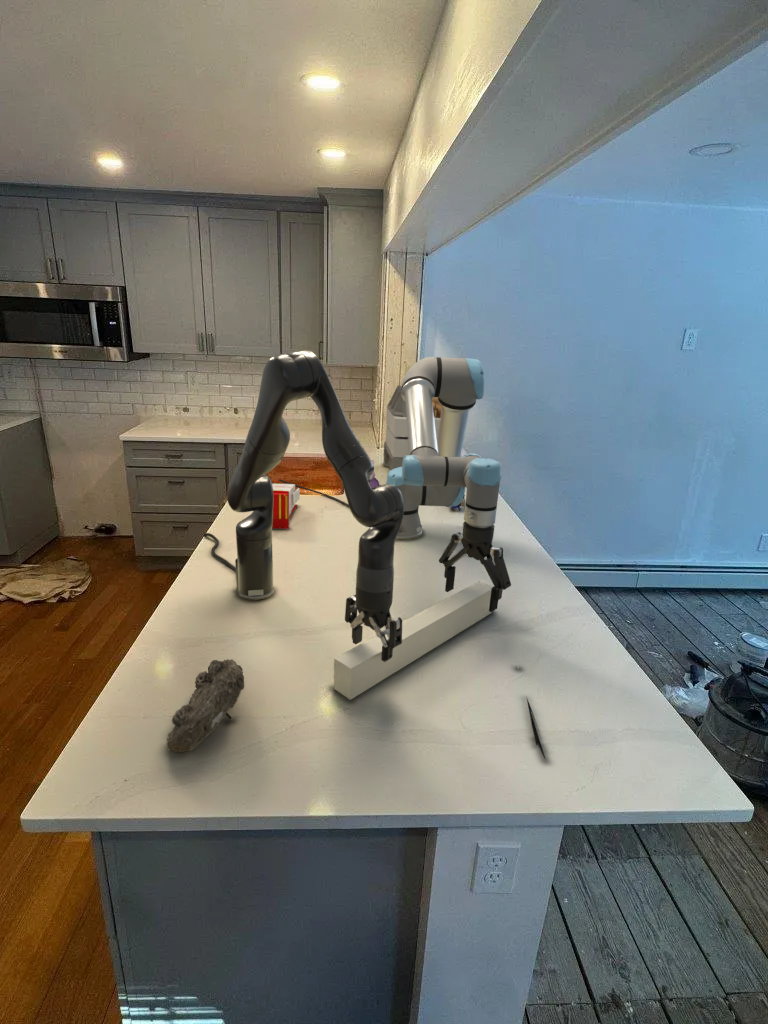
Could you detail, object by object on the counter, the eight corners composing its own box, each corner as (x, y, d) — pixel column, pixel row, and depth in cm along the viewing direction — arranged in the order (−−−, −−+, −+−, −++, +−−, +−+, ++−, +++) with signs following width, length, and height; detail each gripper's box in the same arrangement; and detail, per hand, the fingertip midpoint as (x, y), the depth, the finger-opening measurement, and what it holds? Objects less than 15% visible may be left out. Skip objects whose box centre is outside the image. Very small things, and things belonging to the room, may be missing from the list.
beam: (477, 605, 154) (479, 580, 151) (492, 612, 150) (495, 587, 148) (333, 688, 118) (334, 658, 115) (350, 700, 114) (351, 668, 112)
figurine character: (465, 515, 224) (460, 499, 237) (467, 498, 221) (462, 483, 234) (448, 515, 224) (444, 499, 237) (450, 498, 220) (445, 482, 234)
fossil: (192, 660, 117) (244, 628, 112) (224, 691, 120) (276, 661, 115) (142, 746, 98) (202, 712, 93) (182, 779, 101) (242, 748, 96)
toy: (301, 479, 224) (291, 492, 194) (301, 512, 226) (291, 530, 197) (270, 478, 223) (256, 491, 194) (271, 511, 226) (256, 529, 197)
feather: (518, 672, 127) (523, 666, 127) (544, 763, 101) (551, 755, 100) (512, 668, 127) (517, 662, 127) (537, 758, 101) (544, 751, 100)
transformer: (382, 463, 289) (386, 382, 275) (445, 464, 293) (451, 384, 279) (390, 482, 257) (394, 392, 243) (460, 483, 261) (468, 394, 247)
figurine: (365, 500, 232) (366, 464, 227) (354, 493, 241) (355, 458, 236) (385, 497, 237) (387, 463, 231) (374, 490, 245) (375, 457, 240)
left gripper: (336, 575, 116) (335, 643, 121) (388, 601, 107) (383, 673, 112) (363, 565, 121) (360, 630, 126) (413, 589, 112) (408, 658, 117)
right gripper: (429, 512, 143) (423, 586, 150) (515, 542, 127) (504, 624, 134) (447, 505, 148) (441, 578, 155) (532, 534, 132) (521, 613, 140)
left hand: (371, 651), depth 119 cm, fingers open, 8 cm apart
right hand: (470, 599), depth 145 cm, fingers open, 13 cm apart
